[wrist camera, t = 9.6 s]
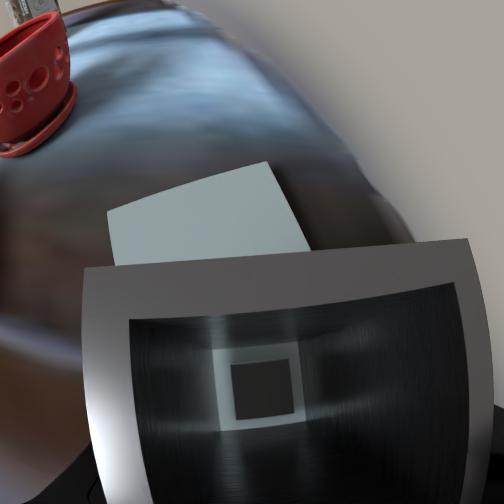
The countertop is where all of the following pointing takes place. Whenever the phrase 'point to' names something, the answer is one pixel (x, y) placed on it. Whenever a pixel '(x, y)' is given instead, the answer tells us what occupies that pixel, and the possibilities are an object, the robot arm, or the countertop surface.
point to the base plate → (222, 246)
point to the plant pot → (34, 83)
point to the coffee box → (30, 10)
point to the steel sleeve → (312, 372)
